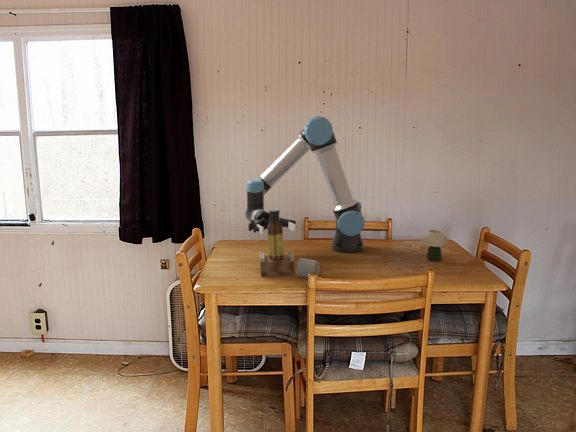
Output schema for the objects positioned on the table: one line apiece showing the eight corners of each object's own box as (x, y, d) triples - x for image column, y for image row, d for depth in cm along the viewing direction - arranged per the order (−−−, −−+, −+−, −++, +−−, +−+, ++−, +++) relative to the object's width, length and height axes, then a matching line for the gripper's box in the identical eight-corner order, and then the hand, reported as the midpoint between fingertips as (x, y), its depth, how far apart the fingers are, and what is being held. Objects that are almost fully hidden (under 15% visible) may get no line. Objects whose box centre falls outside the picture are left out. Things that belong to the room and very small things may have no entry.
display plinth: (290, 268, 203) (291, 250, 201) (293, 275, 193) (293, 257, 192) (259, 269, 201) (259, 251, 200) (261, 276, 192) (260, 258, 190)
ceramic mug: (316, 281, 186) (316, 262, 185) (295, 279, 189) (295, 260, 187) (322, 273, 196) (322, 255, 195) (302, 271, 199) (303, 253, 197)
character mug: (441, 257, 220) (443, 229, 217) (449, 261, 213) (451, 232, 210) (418, 258, 218) (420, 229, 215) (425, 262, 211) (427, 233, 209)
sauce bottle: (284, 256, 199) (284, 208, 195) (283, 260, 193) (283, 211, 189) (268, 255, 199) (268, 208, 195) (266, 260, 193) (266, 211, 189)
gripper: (289, 225, 215) (308, 236, 196) (234, 230, 206) (248, 241, 187) (289, 208, 214) (308, 218, 194) (234, 212, 205) (248, 222, 185)
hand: (279, 229), depth 190 cm, fingers open, 13 cm apart
